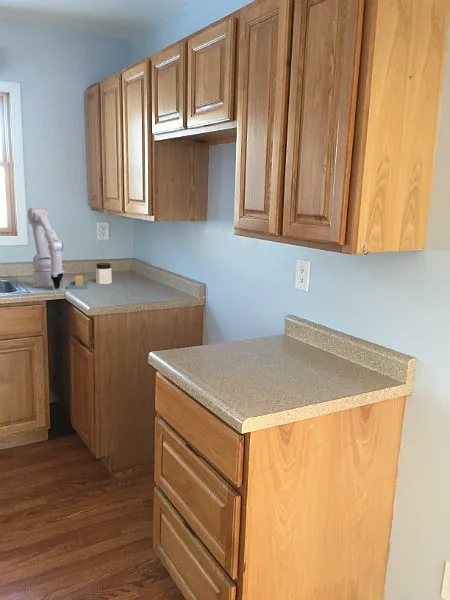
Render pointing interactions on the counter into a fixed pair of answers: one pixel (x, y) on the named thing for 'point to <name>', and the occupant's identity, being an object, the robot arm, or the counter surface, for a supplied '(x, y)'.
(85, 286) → the tote
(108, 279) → the jar
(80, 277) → the tan box
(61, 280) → the concrete cube
